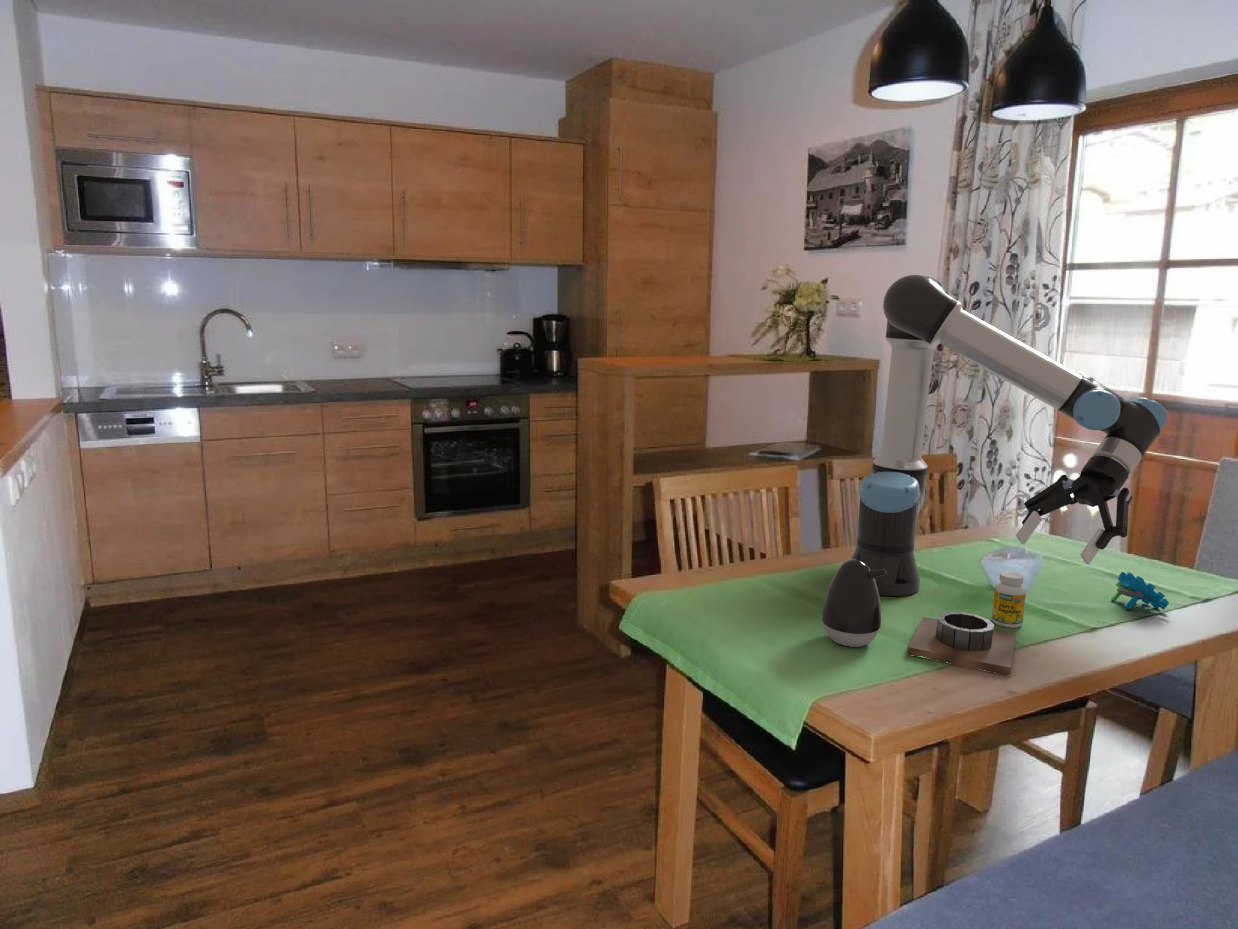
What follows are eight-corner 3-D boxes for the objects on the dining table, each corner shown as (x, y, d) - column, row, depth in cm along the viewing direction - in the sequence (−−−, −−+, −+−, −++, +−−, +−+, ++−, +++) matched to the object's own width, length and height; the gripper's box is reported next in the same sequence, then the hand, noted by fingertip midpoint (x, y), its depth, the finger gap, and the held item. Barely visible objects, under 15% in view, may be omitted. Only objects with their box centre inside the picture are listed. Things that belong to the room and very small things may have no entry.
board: (907, 655, 144) (908, 647, 143) (921, 624, 157) (922, 616, 157) (1009, 676, 136) (1010, 667, 136) (1015, 641, 150) (1016, 633, 150)
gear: (1181, 609, 163) (1150, 574, 162) (1161, 631, 163) (1129, 596, 161) (1138, 597, 174) (1109, 564, 172) (1119, 617, 174) (1089, 585, 172)
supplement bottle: (1020, 619, 161) (1025, 572, 159) (1024, 630, 156) (1030, 581, 154) (989, 616, 162) (994, 568, 160) (992, 626, 157) (998, 577, 155)
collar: (932, 644, 145) (934, 625, 144) (939, 626, 153) (941, 608, 152) (989, 655, 141) (991, 635, 140) (993, 636, 148) (995, 618, 148)
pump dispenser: (871, 658, 142) (878, 573, 139) (812, 644, 147) (817, 562, 144) (887, 638, 151) (894, 557, 148) (830, 625, 156) (836, 547, 153)
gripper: (1182, 491, 155) (1121, 580, 151) (1058, 466, 176) (1002, 543, 173) (1169, 466, 151) (1107, 556, 148) (1045, 443, 173) (987, 521, 169)
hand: (1050, 549), depth 160 cm, fingers open, 13 cm apart
